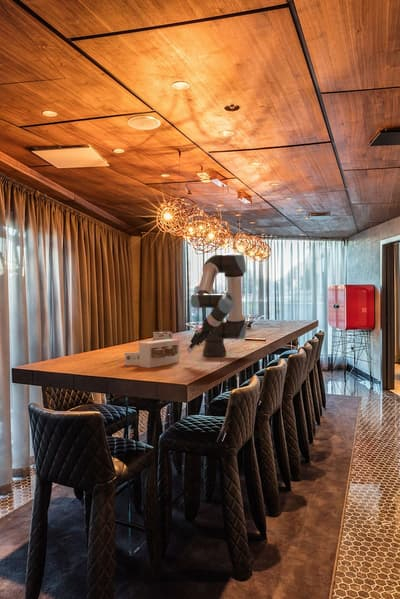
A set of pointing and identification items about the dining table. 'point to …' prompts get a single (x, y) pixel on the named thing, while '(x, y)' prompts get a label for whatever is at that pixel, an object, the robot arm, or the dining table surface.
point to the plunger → (157, 353)
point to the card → (132, 358)
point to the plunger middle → (169, 351)
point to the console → (146, 347)
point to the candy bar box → (162, 335)
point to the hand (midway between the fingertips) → (188, 351)
